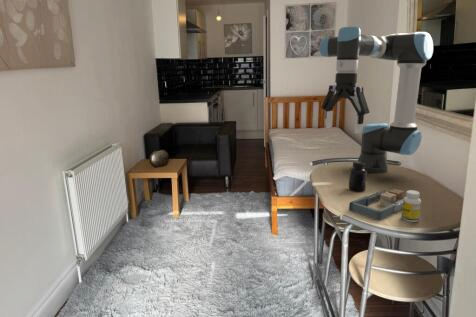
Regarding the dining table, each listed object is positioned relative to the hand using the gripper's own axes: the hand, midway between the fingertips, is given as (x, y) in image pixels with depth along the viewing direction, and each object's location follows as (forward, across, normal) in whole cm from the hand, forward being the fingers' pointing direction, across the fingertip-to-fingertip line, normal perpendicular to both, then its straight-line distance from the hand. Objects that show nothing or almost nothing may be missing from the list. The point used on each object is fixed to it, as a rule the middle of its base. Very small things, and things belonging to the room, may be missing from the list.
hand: (342, 130), depth 135 cm
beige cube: (+27, +15, +10) cm, 33 cm away
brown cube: (+27, +14, +16) cm, 35 cm away
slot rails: (+27, +15, +10) cm, 33 cm away
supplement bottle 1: (+27, -3, +14) cm, 31 cm away
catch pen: (+27, +16, 0) cm, 31 cm away
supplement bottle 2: (+27, +28, +4) cm, 39 cm away
